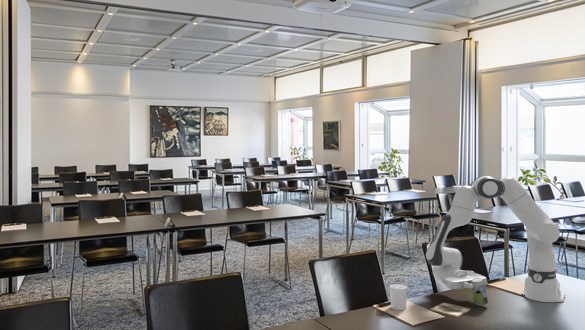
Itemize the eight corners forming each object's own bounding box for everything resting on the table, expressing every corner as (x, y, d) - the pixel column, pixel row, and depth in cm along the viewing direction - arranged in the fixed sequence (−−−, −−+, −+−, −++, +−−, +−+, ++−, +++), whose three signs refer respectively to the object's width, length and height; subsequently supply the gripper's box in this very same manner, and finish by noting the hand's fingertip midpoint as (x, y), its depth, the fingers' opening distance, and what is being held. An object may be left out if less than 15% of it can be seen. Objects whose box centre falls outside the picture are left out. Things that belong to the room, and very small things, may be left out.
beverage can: (489, 306, 219) (490, 281, 218) (473, 307, 219) (473, 281, 218) (485, 301, 225) (485, 276, 224) (469, 301, 225) (469, 277, 224)
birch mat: (444, 303, 226) (444, 302, 226) (470, 310, 216) (470, 308, 216) (430, 310, 216) (430, 309, 216) (457, 317, 207) (457, 315, 207)
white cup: (408, 306, 222) (408, 285, 222) (405, 311, 215) (405, 289, 215) (391, 304, 225) (391, 283, 225) (387, 309, 218) (387, 287, 218)
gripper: (439, 274, 229) (457, 281, 216) (474, 270, 236) (494, 277, 223) (439, 287, 230) (457, 295, 216) (474, 283, 236) (494, 290, 223)
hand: (476, 286), depth 220 cm, fingers closed on beverage can, 3 cm apart
